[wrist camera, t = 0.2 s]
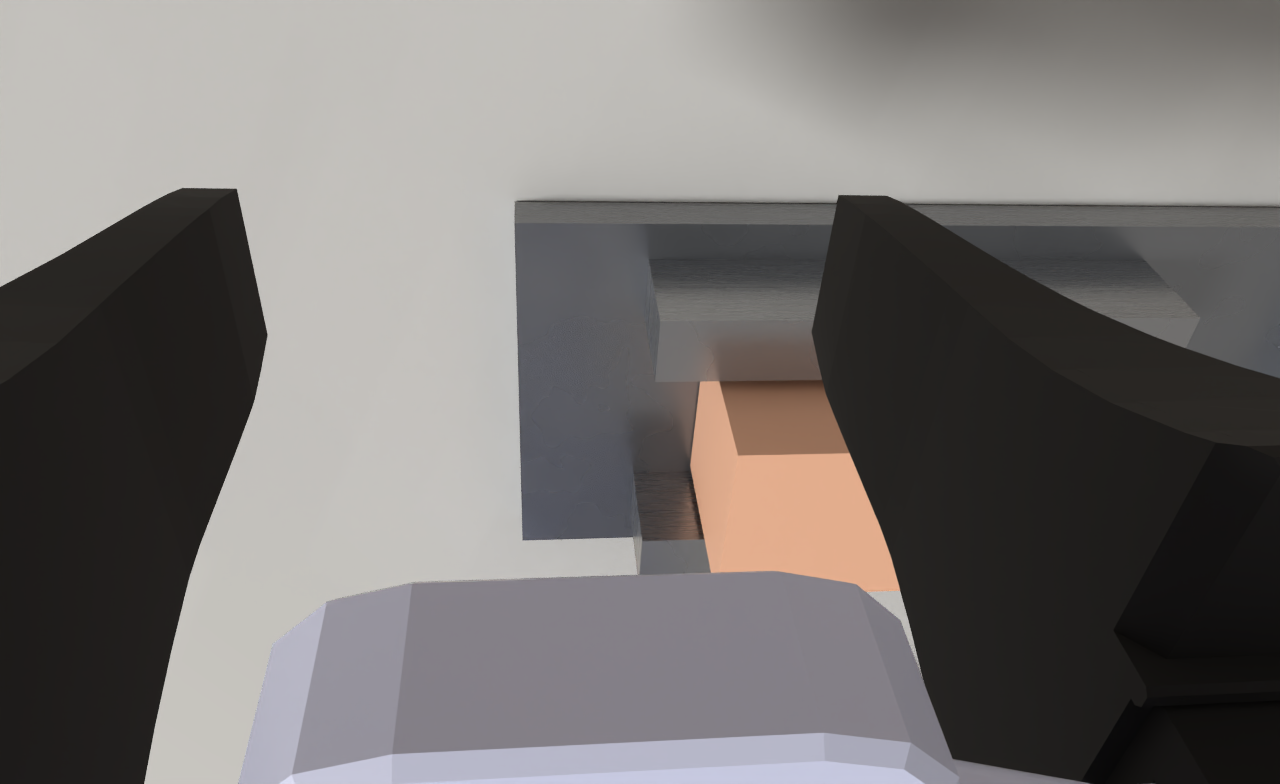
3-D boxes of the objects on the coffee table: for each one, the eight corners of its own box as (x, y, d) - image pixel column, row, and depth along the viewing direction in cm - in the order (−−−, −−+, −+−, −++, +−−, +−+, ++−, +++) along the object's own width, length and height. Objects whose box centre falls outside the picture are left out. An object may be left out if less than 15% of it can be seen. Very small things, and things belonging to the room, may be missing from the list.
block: (871, 461, 27) (923, 589, 23) (690, 465, 26) (715, 597, 23) (907, 328, 24) (972, 450, 21) (706, 330, 24) (737, 455, 20)
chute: (1230, 496, 31) (1299, 582, 28) (522, 514, 28) (522, 610, 26) (1400, 208, 25) (1510, 282, 22) (514, 202, 22) (513, 284, 19)
